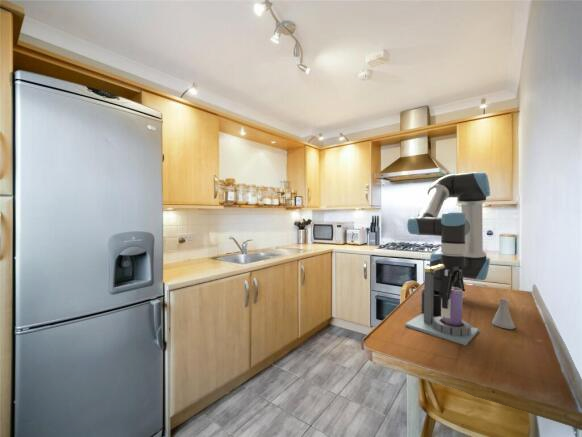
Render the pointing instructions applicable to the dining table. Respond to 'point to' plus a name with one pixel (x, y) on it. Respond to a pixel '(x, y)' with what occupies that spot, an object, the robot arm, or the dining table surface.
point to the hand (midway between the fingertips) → (451, 312)
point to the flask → (503, 316)
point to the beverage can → (455, 308)
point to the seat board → (433, 331)
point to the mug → (435, 303)
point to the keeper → (434, 268)
